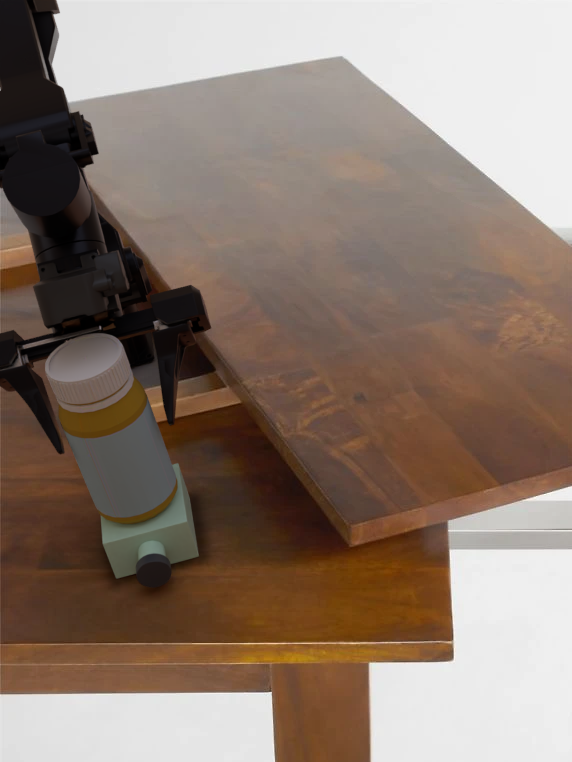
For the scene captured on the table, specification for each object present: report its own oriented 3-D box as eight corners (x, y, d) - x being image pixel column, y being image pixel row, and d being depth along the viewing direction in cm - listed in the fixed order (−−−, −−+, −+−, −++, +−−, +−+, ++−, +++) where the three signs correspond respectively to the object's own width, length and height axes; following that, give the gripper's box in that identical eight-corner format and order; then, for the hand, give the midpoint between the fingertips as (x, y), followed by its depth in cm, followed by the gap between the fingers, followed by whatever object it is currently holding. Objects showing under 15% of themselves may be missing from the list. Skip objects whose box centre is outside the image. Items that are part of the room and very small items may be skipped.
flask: (111, 518, 120) (98, 483, 118) (189, 497, 121) (178, 462, 119) (118, 603, 112) (104, 568, 109) (202, 580, 112) (190, 544, 110)
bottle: (165, 528, 112) (110, 384, 103) (86, 528, 114) (25, 386, 104) (190, 470, 117) (140, 328, 108) (114, 470, 119) (58, 330, 110)
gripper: (-73, 255, 103) (-27, 457, 101) (172, 195, 105) (223, 391, 102) (-34, 291, 114) (9, 474, 112) (187, 236, 116) (234, 414, 113)
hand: (116, 438), depth 109 cm, fingers open, 8 cm apart
